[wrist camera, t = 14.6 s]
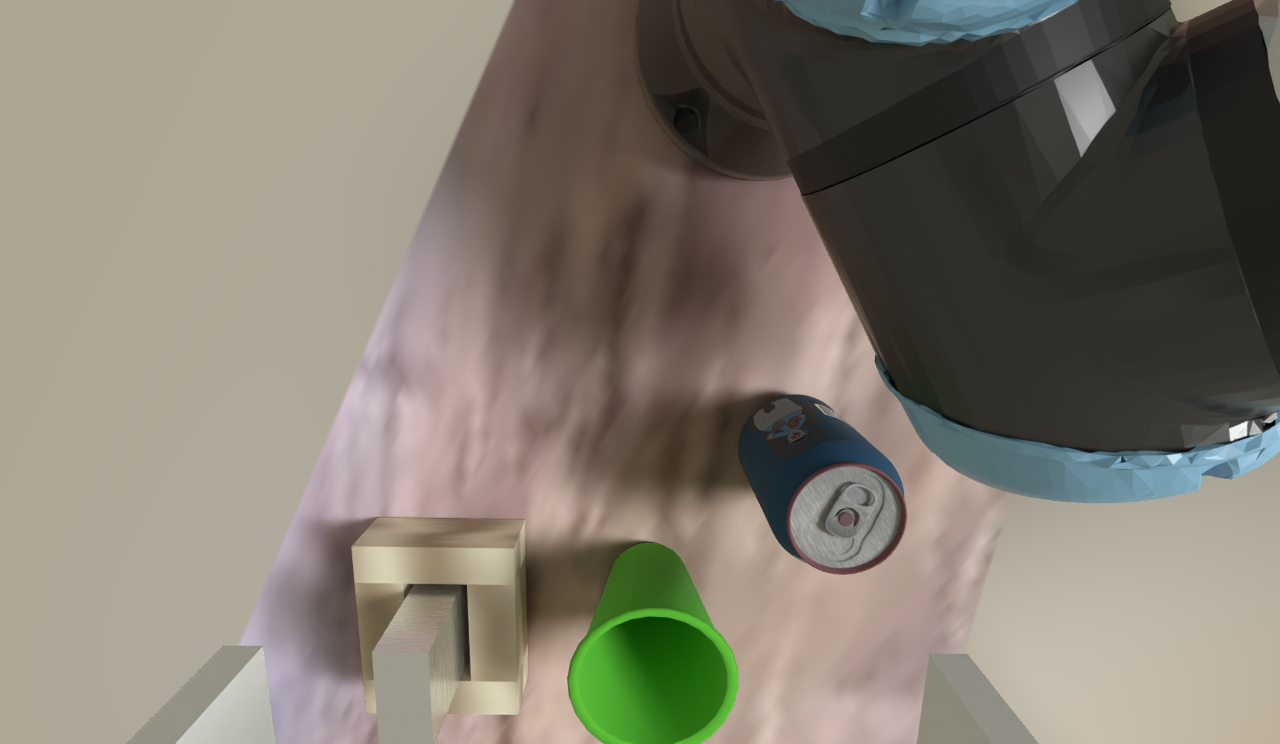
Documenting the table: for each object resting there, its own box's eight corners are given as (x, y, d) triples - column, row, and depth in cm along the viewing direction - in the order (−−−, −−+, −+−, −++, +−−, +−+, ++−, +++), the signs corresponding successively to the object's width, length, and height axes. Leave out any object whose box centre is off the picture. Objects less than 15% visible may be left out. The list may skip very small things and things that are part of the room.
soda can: (805, 504, 42) (871, 608, 31) (716, 461, 42) (748, 550, 30) (858, 417, 41) (948, 491, 29) (767, 371, 40) (822, 427, 29)
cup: (606, 645, 45) (597, 776, 34) (566, 534, 43) (543, 636, 32) (727, 612, 44) (757, 734, 33) (692, 498, 42) (712, 588, 32)
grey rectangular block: (474, 558, 43) (428, 653, 33) (477, 634, 44) (433, 747, 35) (431, 557, 43) (371, 652, 33) (435, 634, 44) (379, 747, 35)
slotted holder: (525, 519, 42) (514, 548, 39) (528, 672, 45) (518, 714, 41) (377, 517, 42) (351, 546, 38) (389, 671, 45) (365, 713, 41)
